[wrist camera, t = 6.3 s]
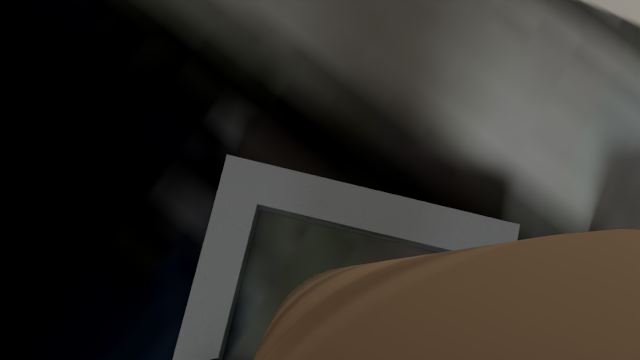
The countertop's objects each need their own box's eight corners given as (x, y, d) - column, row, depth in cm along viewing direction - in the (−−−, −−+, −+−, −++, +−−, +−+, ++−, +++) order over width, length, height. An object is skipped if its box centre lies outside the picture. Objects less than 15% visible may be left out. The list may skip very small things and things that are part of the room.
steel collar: (447, 518, 22) (463, 543, 20) (156, 451, 22) (143, 468, 20) (500, 228, 24) (520, 224, 22) (232, 164, 24) (227, 154, 22)
